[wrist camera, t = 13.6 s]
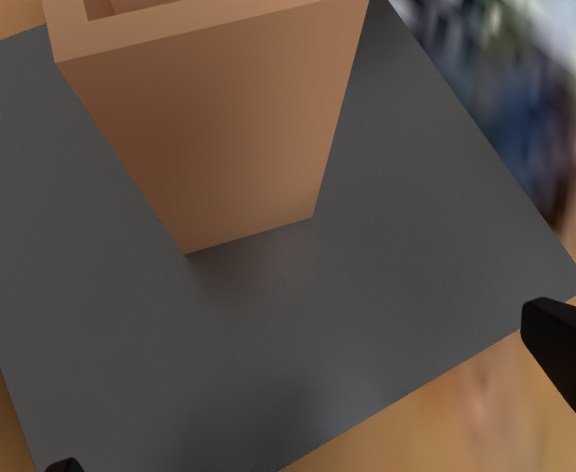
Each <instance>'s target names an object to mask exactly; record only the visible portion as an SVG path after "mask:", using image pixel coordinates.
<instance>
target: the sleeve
mask: <svg viewBox="0 0 576 472" xmlns="http://www.w3.org/2000/svg"><path fill="white" fill-rule="evenodd" d="M368 3H369V0H42V5H43V9H44V14H45V19H46V24H47V28H48V33H49V38H50V42H51V47H52V52H53V57H54V61H55V64H56V65H57V67H58V68H59V70H60V71H61V73H62V74H63V76H64V77H65V79H66V80H67V82H68V83H69V85H70V86H71V88H72V89H73V91H74V92H75V94H76V95H77V97H78V98H79V100H80V101H81V103H82V104H83V106H84V107H85V109H86V110H87V112H88V113H89V115H90V116H91V117H92V119H93V120H94V122H95V123H96V125H97V126H98V128H99V129H100V131H101V132H102V134H103V135H104V137H105V138H106V140H107V141H108V143H109V144H110V146H111V147H112V149H113V150H114V152H115V153H116V155H117V156H118V158H119V159H120V161H121V162H122V164H123V165H124V167H125V168H126V170H127V171H128V173H129V174H130V175H131V177H132V178H133V180H134V181H135V183H136V184H137V186H138V187H139V189H140V190H141V192H142V193H143V195H144V196H145V198H146V199H147V201H148V202H149V204H150V205H151V207H152V208H153V210H154V211H155V213H156V214H157V216H158V217H159V219H160V220H161V222H162V223H163V225H164V226H165V228H166V229H167V230H168V232H169V233H170V235H171V236H172V238H173V239H174V241H175V242H176V244H177V245H178V247H179V248H180V250H181V251H182V253H183V254H188V253H191V252H195V251H198V250H202V249H205V248H208V247H212V246H215V245H219V244H222V243H226V242H229V241H232V240H236V239H239V238H243V237H246V236H250V235H253V234H256V233H260V232H263V231H267V230H270V229H274V228H277V227H280V226H284V225H287V224H291V223H294V222H298V221H301V220H304V219H308V218H311V217H313V213H314V209H315V205H316V201H317V198H318V194H319V190H320V186H321V182H322V179H323V175H324V171H325V167H326V163H327V159H328V156H329V152H330V148H331V144H332V140H333V137H334V133H335V129H336V125H337V121H338V118H339V114H340V110H341V106H342V102H343V98H344V95H345V91H346V87H347V83H348V79H349V76H350V72H351V68H352V64H353V60H354V57H355V53H356V49H357V45H358V41H359V38H360V34H361V30H362V26H363V22H364V18H365V15H366V11H367V7H368Z"/></svg>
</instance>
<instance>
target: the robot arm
mask: <svg viewBox="0 0 576 472" xmlns="http://www.w3.org/2000/svg"><path fill="white" fill-rule="evenodd" d="M520 333H521V338H522V341H523V343H524V344H525V346H526V347H527V349H528V350H529V351H530V353H531V354H532V355H533V357H534V358H535V360H536V361H537V362H538V364H539V365H540V366H541V368H542V369H543V370H544V372H545V373H546V375H547V376H548V377H549V379H550V380H551V381H552V383H553V384H554V386H555V387H556V388H557V390H558V391H559V392H560V394H561V395H562V396H563V398H564V399H565V400H566V402H567V403H568V404H569V406H570V407H571V408H572V409H573V410H574V412H575V413H576V306H573V305H570V304H567V303H563V302H560V301H557V300H554V299H551V298H547V297H538V298H535V299H532V300H529V301H526V302H525V303H524V304H523V306H522V312H521V329H520ZM44 472H85V471H84V470H83V468H82V467H81V465H80V464H79V462H78V461H77V459H75V458H74V457H69V458H66V459H63V460H60V461H57V462H54V463H52V464H50V465H49V466H48V467H47V468H46V469H45V471H44Z"/></svg>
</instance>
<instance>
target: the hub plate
mask: <svg viewBox="0 0 576 472" xmlns="http://www.w3.org/2000/svg"><path fill="white" fill-rule="evenodd" d="M574 296H576V263H575V262H574V261H573V259H572V258H571V256H570V255H569V254H568V252H567V251H566V249H565V248H564V247H563V245H562V244H561V242H560V241H559V240H558V238H557V237H556V235H555V234H554V233H553V231H552V230H551V228H550V227H549V226H548V224H547V223H546V221H545V220H544V219H543V217H542V216H541V214H540V213H539V212H538V210H537V209H536V207H535V206H534V204H533V203H532V202H531V200H530V199H529V197H528V196H527V195H526V193H525V192H524V190H523V189H522V188H521V186H520V185H519V183H518V182H517V181H516V179H515V178H514V176H513V175H512V174H511V172H510V171H509V169H508V168H507V167H506V165H505V164H504V162H503V161H502V160H501V158H500V157H499V155H498V154H497V153H496V151H495V150H494V148H493V147H492V146H491V144H490V143H489V141H488V140H487V138H486V137H485V136H484V134H483V133H482V131H481V130H480V129H479V127H478V126H477V124H476V123H475V122H474V120H473V119H472V117H471V116H470V115H469V113H468V112H467V110H466V109H465V108H464V106H463V105H462V103H461V102H460V101H459V99H458V98H457V96H456V95H455V94H454V92H453V91H452V89H451V88H450V87H449V85H448V84H447V82H446V81H445V80H444V78H443V77H442V75H441V74H440V73H439V71H438V70H437V68H436V67H435V65H434V64H433V63H432V61H431V60H430V58H429V57H428V56H427V54H426V53H425V51H424V50H423V49H422V47H421V46H420V44H419V43H418V42H417V40H416V39H415V37H414V36H413V35H412V33H411V32H410V30H409V29H408V28H407V26H406V25H405V23H404V22H403V21H402V19H401V18H400V16H399V15H398V14H397V12H396V11H395V9H394V8H393V7H392V5H391V4H390V2H389V1H388V0H369V3H368V7H367V11H366V15H365V18H364V22H363V26H362V30H361V34H360V38H359V41H358V45H357V49H356V53H355V57H354V60H353V64H352V68H351V72H350V76H349V79H348V83H347V87H346V91H345V95H344V98H343V102H342V106H341V110H340V114H339V118H338V121H337V125H336V129H335V133H334V137H333V140H332V144H331V148H330V152H329V156H328V159H327V163H326V167H325V171H324V175H323V179H322V182H321V186H320V190H319V194H318V198H317V201H316V205H315V209H314V213H313V217H311V218H308V219H304V220H301V221H298V222H294V223H291V224H287V225H284V226H280V227H277V228H274V229H270V230H267V231H263V232H260V233H256V234H253V235H250V236H246V237H243V238H239V239H236V240H232V241H229V242H226V243H222V244H219V245H215V246H212V247H208V248H205V249H202V250H198V251H195V252H191V253H188V254H183V253H182V251H181V250H180V248H179V247H178V245H177V244H176V242H175V241H174V239H173V238H172V236H171V235H170V233H169V232H168V230H167V229H166V228H165V226H164V225H163V223H162V222H161V220H160V219H159V217H158V216H157V214H156V213H155V211H154V210H153V208H152V207H151V205H150V204H149V202H148V201H147V199H146V198H145V196H144V195H143V193H142V192H141V190H140V189H139V187H138V186H137V184H136V183H135V181H134V180H133V178H132V177H131V175H130V174H129V173H128V171H127V170H126V168H125V167H124V165H123V164H122V162H121V161H120V159H119V158H118V156H117V155H116V153H115V152H114V150H113V149H112V147H111V146H110V144H109V143H108V141H107V140H106V138H105V137H104V135H103V134H102V132H101V131H100V129H99V128H98V126H97V125H96V123H95V122H94V120H93V119H92V117H91V116H90V115H89V113H88V112H87V110H86V109H85V107H84V106H83V104H82V103H81V101H80V100H79V98H78V97H77V95H76V94H75V92H74V91H73V89H72V88H71V86H70V85H69V83H68V82H67V80H66V79H65V77H64V76H63V74H62V73H61V71H60V70H59V68H58V67H57V65H56V64H55V61H54V57H53V52H52V47H51V42H50V38H49V33H48V28H47V24H46V23H45V24H43V25H40V26H37V27H35V28H32V29H29V30H27V31H24V32H21V33H19V34H16V35H13V36H11V37H8V38H5V39H3V40H0V369H1V372H2V374H3V377H4V380H5V383H6V386H7V389H8V392H9V394H10V397H11V400H12V403H13V406H14V409H15V412H16V414H17V417H18V420H19V423H20V426H21V429H22V431H23V434H24V437H25V440H26V443H27V446H28V449H29V451H30V454H31V457H32V460H33V463H34V466H35V468H36V471H37V472H44V471H45V469H46V468H47V467H48V466H49V465H50V464H52V463H54V462H57V461H60V460H63V459H66V458H69V457H74V458H75V459H77V461H78V462H79V464H80V465H81V467H82V468H83V470H84V471H85V472H277V471H279V470H281V469H282V468H284V467H286V466H287V465H289V464H291V463H292V462H294V461H296V460H297V459H299V458H301V457H303V456H304V455H306V454H308V453H309V452H311V451H313V450H314V449H316V448H318V447H320V446H321V445H323V444H325V443H326V442H328V441H330V440H331V439H333V438H335V437H337V436H338V435H340V434H342V433H343V432H345V431H347V430H348V429H350V428H352V427H353V426H355V425H357V424H359V423H360V422H362V421H364V420H365V419H367V418H369V417H370V416H372V415H374V414H376V413H377V412H379V411H381V410H382V409H384V408H386V407H387V406H389V405H391V404H392V403H394V402H396V401H398V400H399V399H401V398H403V397H404V396H406V395H408V394H409V393H411V392H413V391H415V390H416V389H418V388H420V387H421V386H423V385H425V384H426V383H428V382H430V381H432V380H433V379H435V378H437V377H438V376H440V375H442V374H443V373H445V372H447V371H448V370H450V369H452V368H454V367H455V366H457V365H459V364H460V363H462V362H464V361H465V360H467V359H469V358H471V357H472V356H474V355H476V354H477V353H479V352H481V351H482V350H484V349H486V348H487V347H489V346H491V345H493V344H494V343H496V342H498V341H499V340H501V339H503V338H504V337H506V336H508V335H510V334H511V333H513V332H515V331H516V330H518V329H520V328H521V312H522V306H523V304H524V303H525V302H526V301H529V300H532V299H535V298H538V297H547V298H551V299H554V300H557V301H560V302H563V303H564V302H566V301H567V300H569V299H571V298H572V297H574Z"/></svg>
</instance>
